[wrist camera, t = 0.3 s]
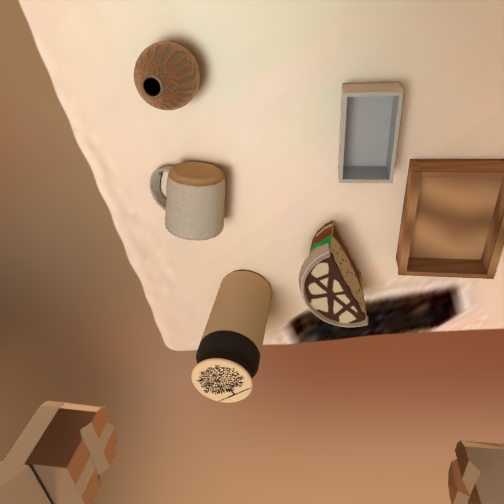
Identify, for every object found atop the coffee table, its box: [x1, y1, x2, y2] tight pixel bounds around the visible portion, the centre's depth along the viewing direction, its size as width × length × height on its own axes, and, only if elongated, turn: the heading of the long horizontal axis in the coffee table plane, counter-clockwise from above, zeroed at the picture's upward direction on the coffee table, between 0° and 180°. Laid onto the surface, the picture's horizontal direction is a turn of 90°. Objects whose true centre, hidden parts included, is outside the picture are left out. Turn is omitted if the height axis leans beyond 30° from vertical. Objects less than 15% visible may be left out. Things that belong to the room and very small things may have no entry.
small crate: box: [338, 82, 404, 183], centre depth 49 cm, size 10×6×4 cm, turn 3°
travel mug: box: [192, 271, 272, 403], centre depth 60 cm, size 8×8×18 cm
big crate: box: [396, 159, 504, 279], centre depth 54 cm, size 14×12×4 cm
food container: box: [299, 221, 368, 327], centre depth 57 cm, size 12×6×10 cm, turn 30°
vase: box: [134, 41, 200, 110], centre depth 47 cm, size 7×7×9 cm
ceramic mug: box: [150, 162, 225, 240], centre depth 56 cm, size 11×8×8 cm
